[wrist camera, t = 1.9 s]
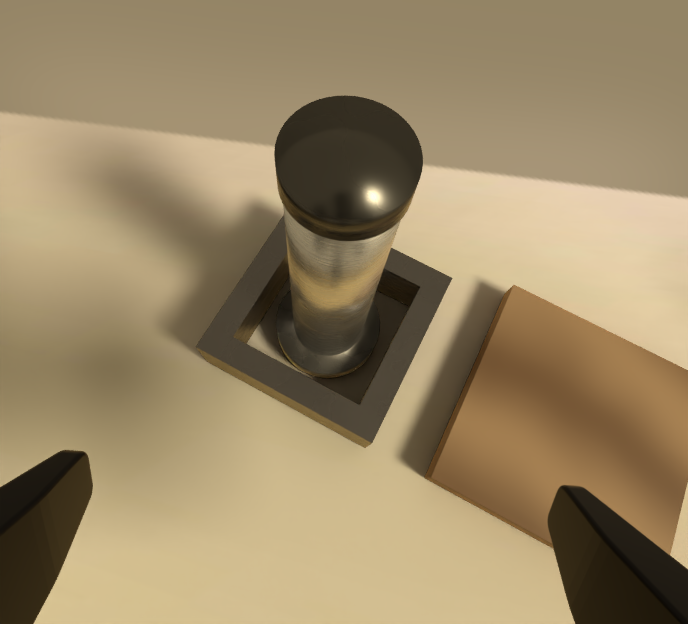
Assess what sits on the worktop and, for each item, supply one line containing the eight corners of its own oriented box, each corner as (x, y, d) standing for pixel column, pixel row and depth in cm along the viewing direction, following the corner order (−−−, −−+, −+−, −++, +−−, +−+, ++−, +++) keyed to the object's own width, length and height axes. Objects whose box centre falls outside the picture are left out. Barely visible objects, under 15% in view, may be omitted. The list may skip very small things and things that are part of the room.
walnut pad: (638, 595, 20) (658, 601, 19) (424, 477, 21) (431, 477, 20) (692, 387, 23) (711, 381, 22) (504, 293, 24) (513, 284, 23)
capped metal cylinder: (348, 396, 22) (398, 285, 10) (258, 347, 23) (200, 185, 10) (393, 310, 24) (483, 125, 12) (308, 267, 24) (308, 45, 12)
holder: (364, 447, 21) (371, 443, 19) (207, 361, 22) (195, 346, 20) (438, 298, 24) (452, 278, 22) (295, 226, 25) (294, 199, 23)
